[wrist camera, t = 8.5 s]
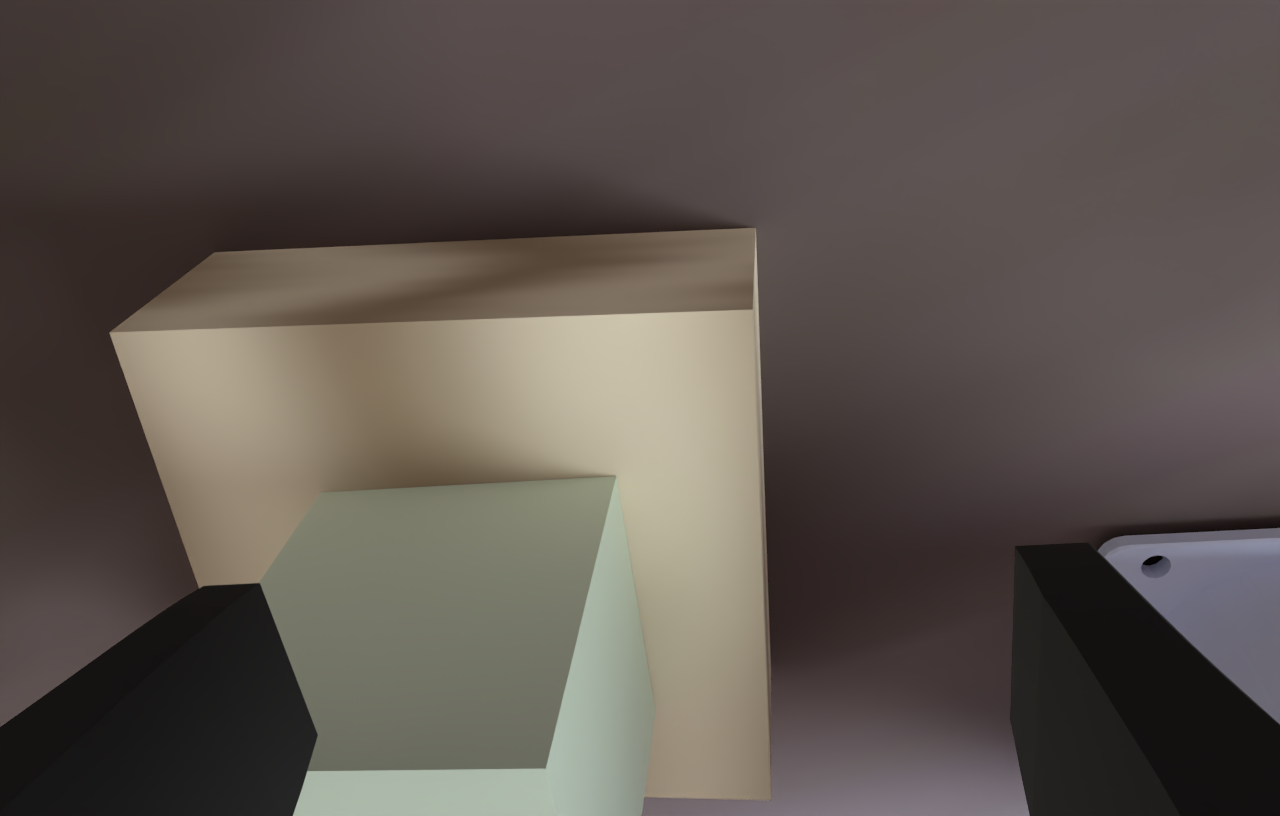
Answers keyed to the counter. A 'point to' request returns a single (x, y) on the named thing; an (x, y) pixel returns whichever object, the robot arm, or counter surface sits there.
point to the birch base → (494, 427)
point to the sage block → (468, 651)
